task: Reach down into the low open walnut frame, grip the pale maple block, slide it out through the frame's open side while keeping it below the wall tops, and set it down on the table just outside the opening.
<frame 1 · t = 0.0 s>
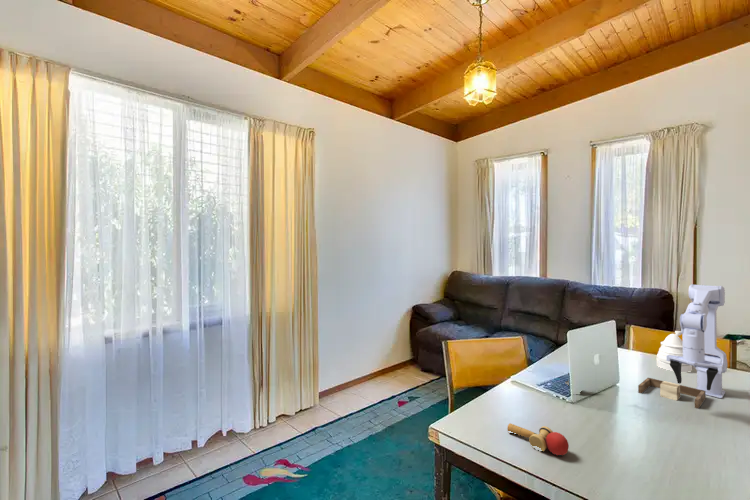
hand: (693, 386, 121), 10 cm above the table, tool pointing down, fingers open, 7 cm apart
kendama: (536, 445, 105), on the table
salt shaker: (573, 392, 142), on the table
maple block: (670, 396, 136), on the table
honey pot: (673, 368, 167), on the table
open walnut frame: (670, 395, 136), on the table
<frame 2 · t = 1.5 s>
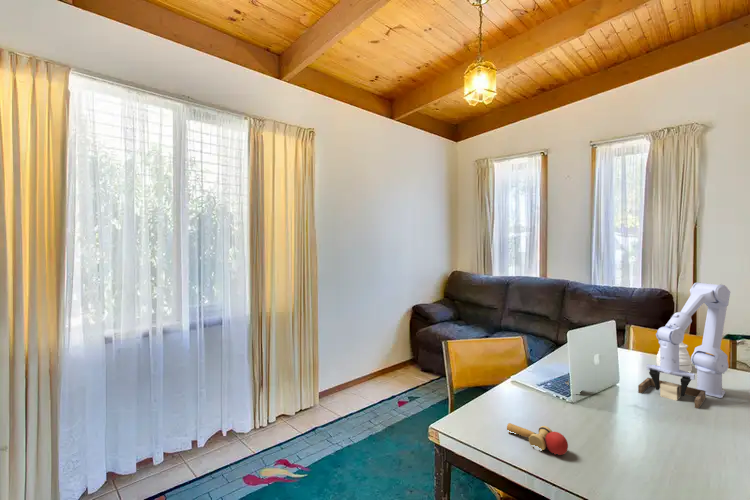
hand: (670, 392, 136), 2 cm above the table, tool pointing down, fingers open, 7 cm apart
nothing on the table moved.
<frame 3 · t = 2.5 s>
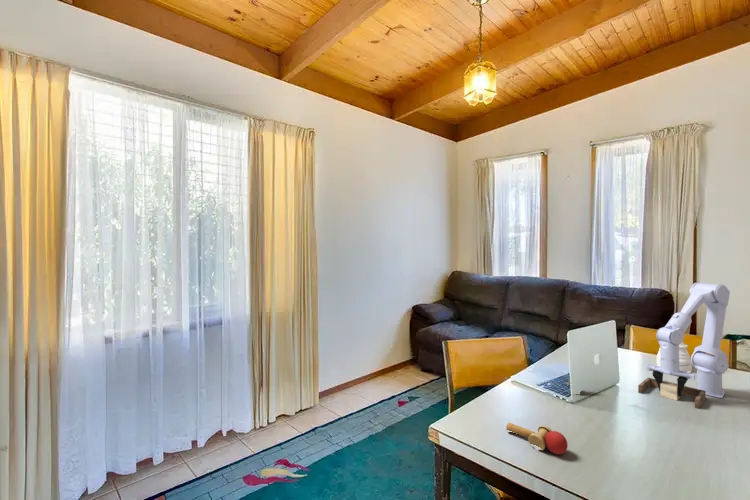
hand: (670, 393, 136), 1 cm above the table, tool pointing down, fingers closed on maple block, 5 cm apart
maple block: (670, 396, 136), on the table, touching gripper
everything else where it was.
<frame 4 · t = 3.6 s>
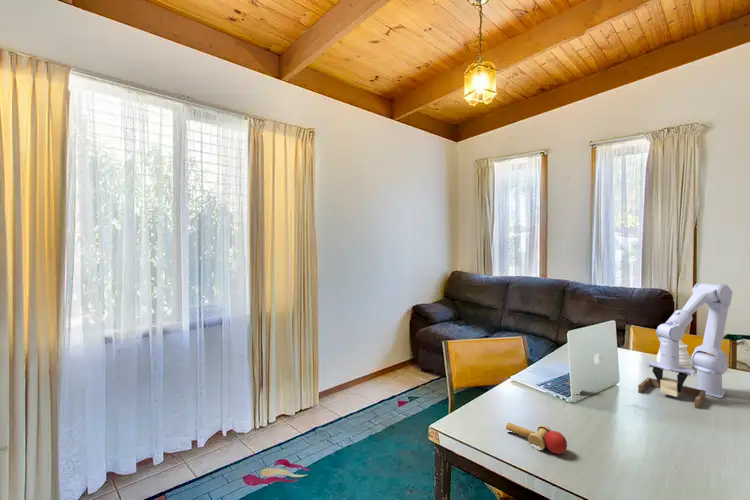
hand: (670, 389, 136), 3 cm above the table, tool pointing down, fingers closed on maple block, 5 cm apart
maple block: (670, 393, 136), point 1 cm above the table, touching gripper
everything else where it was.
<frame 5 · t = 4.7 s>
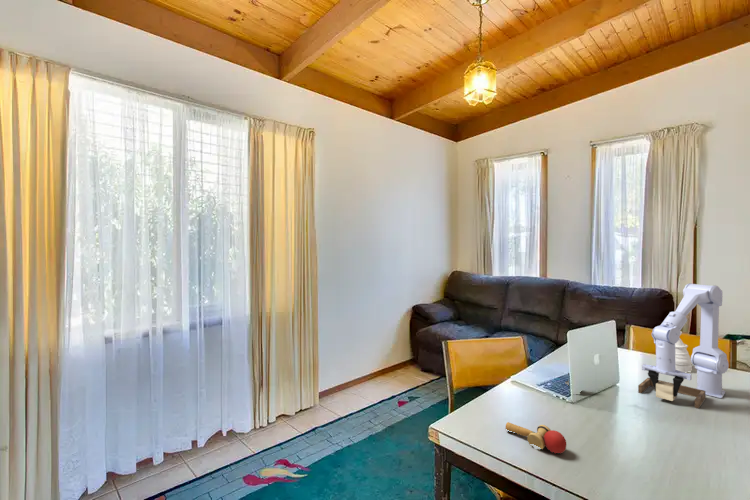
hand: (665, 393, 132), 3 cm above the table, tool pointing down, fingers closed on maple block, 5 cm apart
maple block: (666, 397, 132), point 2 cm above the table, touching gripper
everything else where it was.
when the fingers open (2 cm above the table, at t = 6.4 s): maple block drops 1 cm, on the table.
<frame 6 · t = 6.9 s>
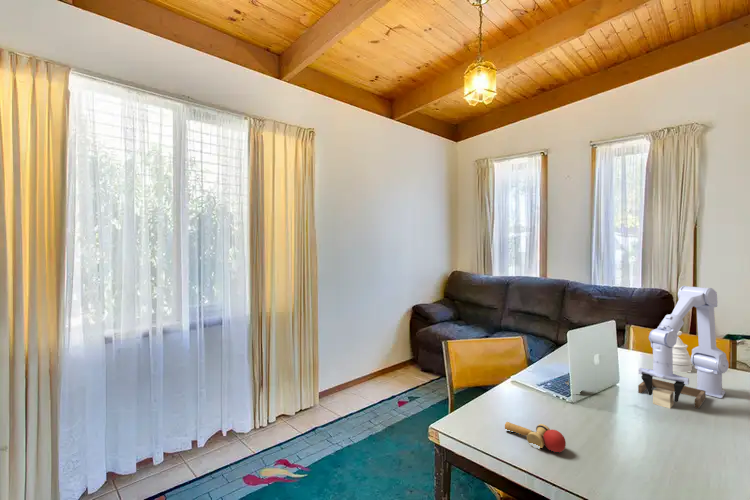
hand: (663, 397, 130), 2 cm above the table, tool pointing down, fingers open, 7 cm apart
maple block: (663, 404, 130), on the table
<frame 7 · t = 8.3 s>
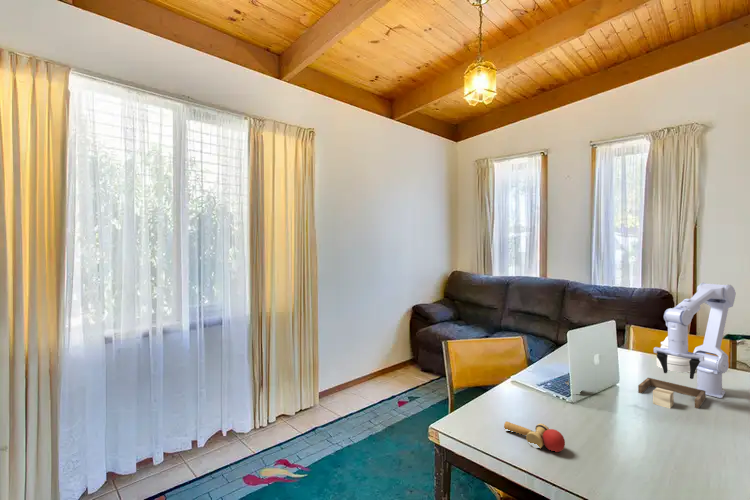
hand: (678, 375, 132), 10 cm above the table, tool pointing down, fingers open, 7 cm apart
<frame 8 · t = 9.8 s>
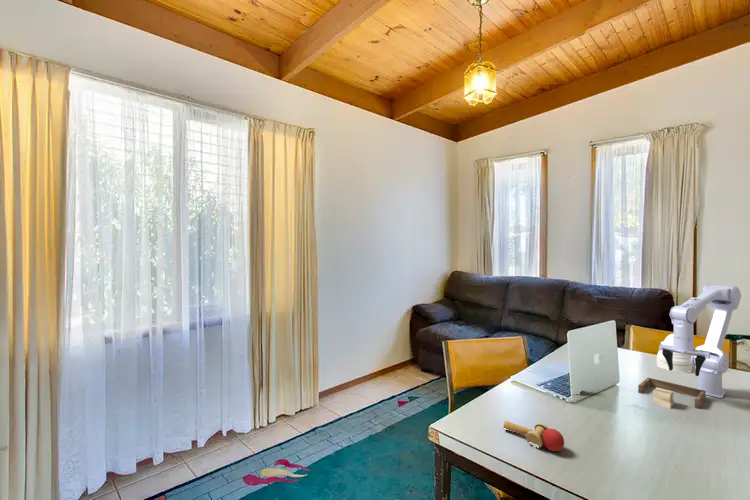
hand: (683, 372, 133), 10 cm above the table, tool pointing down, fingers open, 7 cm apart
at the end: maple block inside the target area (0.5 cm from its centre), on the table; maple block tilted 0°; the gripper is holding nothing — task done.
